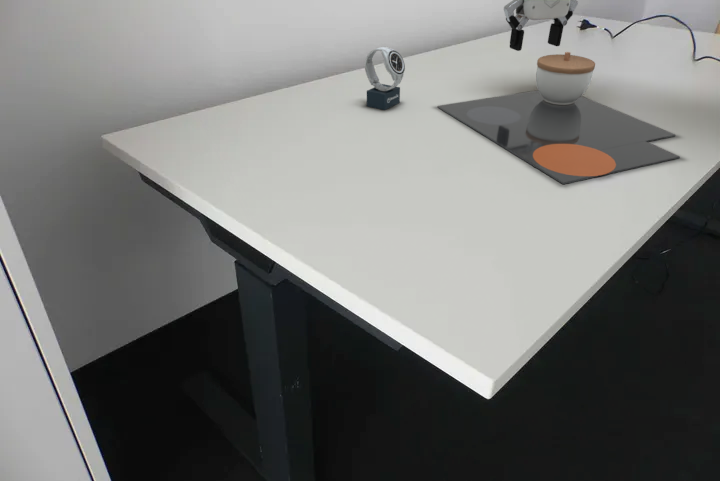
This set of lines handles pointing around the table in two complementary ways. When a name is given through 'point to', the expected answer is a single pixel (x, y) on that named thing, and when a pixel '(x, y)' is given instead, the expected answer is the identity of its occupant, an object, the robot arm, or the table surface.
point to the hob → (562, 129)
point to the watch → (382, 93)
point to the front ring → (574, 160)
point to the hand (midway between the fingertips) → (534, 47)
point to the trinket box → (563, 77)
